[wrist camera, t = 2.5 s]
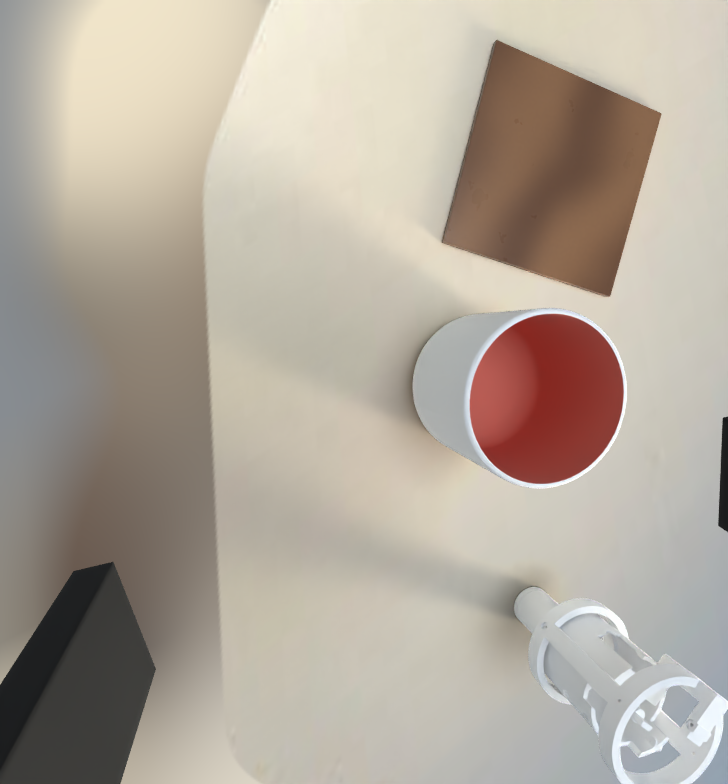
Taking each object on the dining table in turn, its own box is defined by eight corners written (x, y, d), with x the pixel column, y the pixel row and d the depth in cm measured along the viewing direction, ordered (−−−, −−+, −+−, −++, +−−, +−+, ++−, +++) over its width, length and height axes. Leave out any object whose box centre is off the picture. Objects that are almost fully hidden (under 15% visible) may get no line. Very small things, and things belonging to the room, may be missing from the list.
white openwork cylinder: (586, 592, 42) (765, 729, 27) (534, 661, 42) (688, 838, 27) (527, 546, 40) (685, 667, 26) (473, 618, 40) (602, 783, 25)
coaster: (441, 242, 36) (443, 241, 36) (493, 42, 35) (496, 39, 35) (606, 296, 39) (610, 296, 39) (657, 115, 38) (661, 113, 38)
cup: (519, 300, 38) (613, 288, 28) (543, 427, 39) (640, 459, 30) (392, 333, 36) (446, 333, 26) (424, 466, 38) (485, 512, 28)
